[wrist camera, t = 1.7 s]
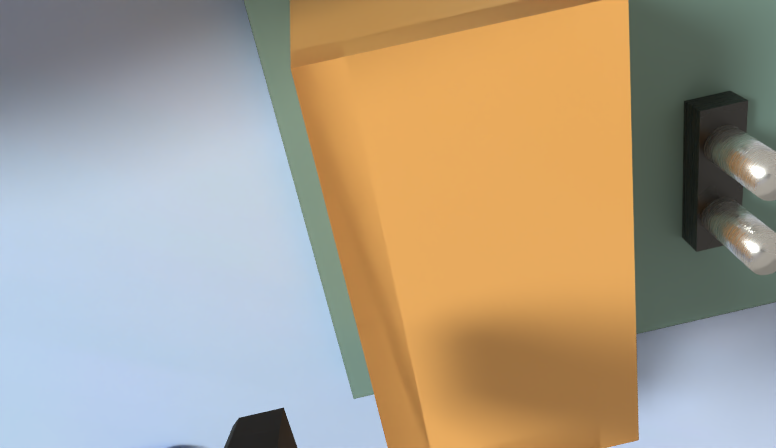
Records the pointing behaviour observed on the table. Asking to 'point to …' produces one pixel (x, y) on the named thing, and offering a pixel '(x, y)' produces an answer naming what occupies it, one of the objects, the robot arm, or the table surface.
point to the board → (649, 156)
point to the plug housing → (480, 211)
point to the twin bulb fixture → (726, 181)
